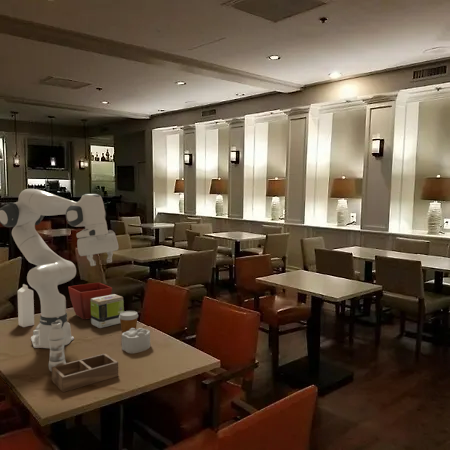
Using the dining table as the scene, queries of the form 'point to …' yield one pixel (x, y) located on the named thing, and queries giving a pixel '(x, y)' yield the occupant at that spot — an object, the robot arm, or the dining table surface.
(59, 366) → the bottle carrier
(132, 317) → the disposable coffee cup
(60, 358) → the metal bottle
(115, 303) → the tea box
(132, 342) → the lumpy-topped squat cylinder
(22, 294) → the milk
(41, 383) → the dining table surface
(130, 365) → the dining table surface
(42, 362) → the dining table surface
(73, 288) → the plant pot
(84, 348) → the dining table surface
